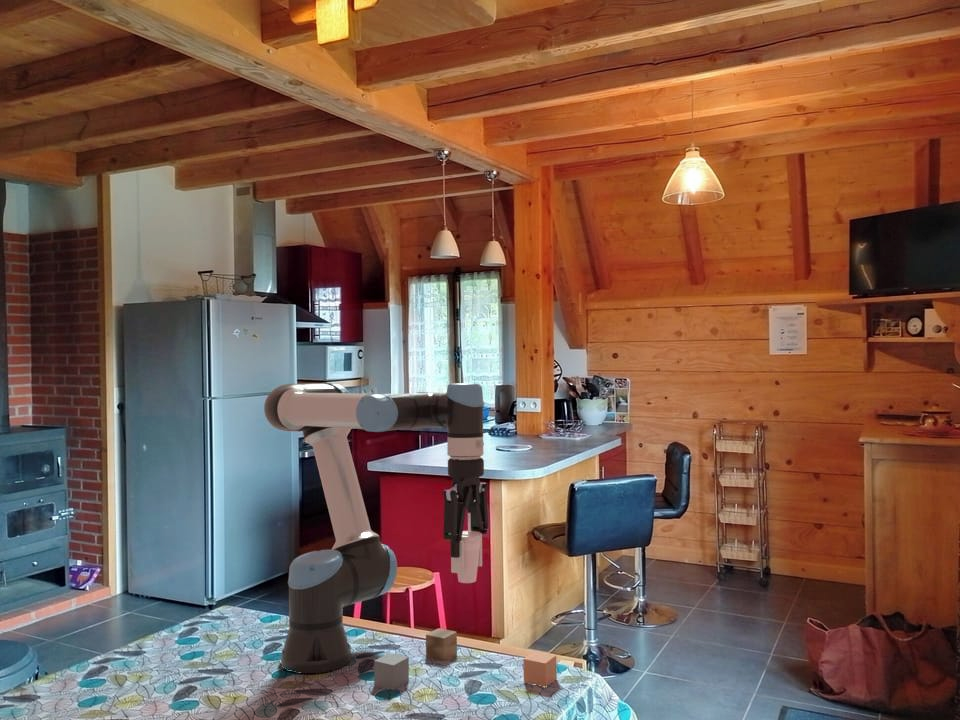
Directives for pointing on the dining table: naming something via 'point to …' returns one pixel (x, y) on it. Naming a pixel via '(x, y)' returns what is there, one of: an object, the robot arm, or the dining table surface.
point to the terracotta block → (540, 668)
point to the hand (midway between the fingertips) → (467, 568)
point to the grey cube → (391, 671)
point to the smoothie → (470, 554)
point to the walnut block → (441, 644)
